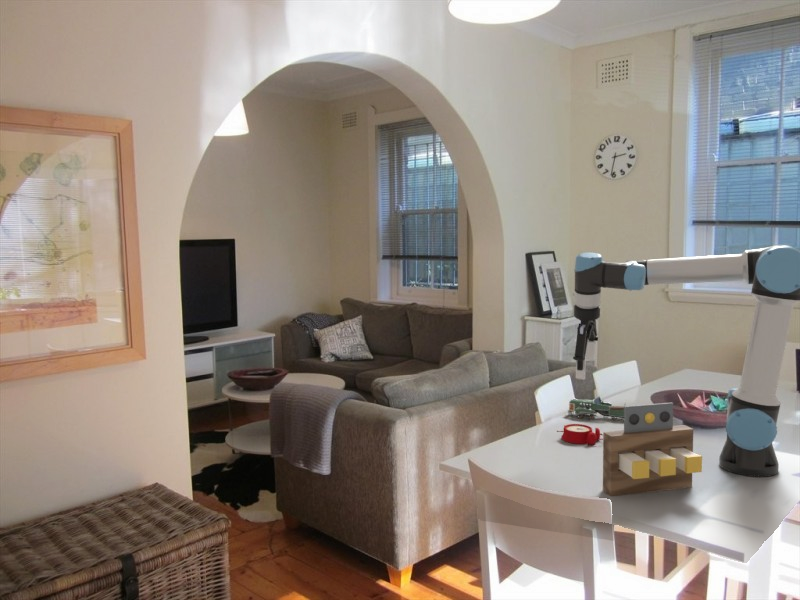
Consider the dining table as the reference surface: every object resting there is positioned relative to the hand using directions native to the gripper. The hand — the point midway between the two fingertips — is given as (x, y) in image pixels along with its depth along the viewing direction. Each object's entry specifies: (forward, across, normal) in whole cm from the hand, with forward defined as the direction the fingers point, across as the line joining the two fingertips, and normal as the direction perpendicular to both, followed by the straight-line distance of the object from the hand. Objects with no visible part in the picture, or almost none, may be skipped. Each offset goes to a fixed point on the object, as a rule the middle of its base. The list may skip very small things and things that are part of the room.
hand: (585, 369), depth 204 cm
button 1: (+11, +34, +19) cm, 41 cm away
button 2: (+12, +25, +31) cm, 41 cm away
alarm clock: (+30, -7, -2) cm, 30 cm away
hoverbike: (+36, -35, -1) cm, 50 cm away
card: (+4, +24, +22) cm, 33 cm away
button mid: (+12, +29, +25) cm, 40 cm away
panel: (+19, +28, +23) cm, 41 cm away
